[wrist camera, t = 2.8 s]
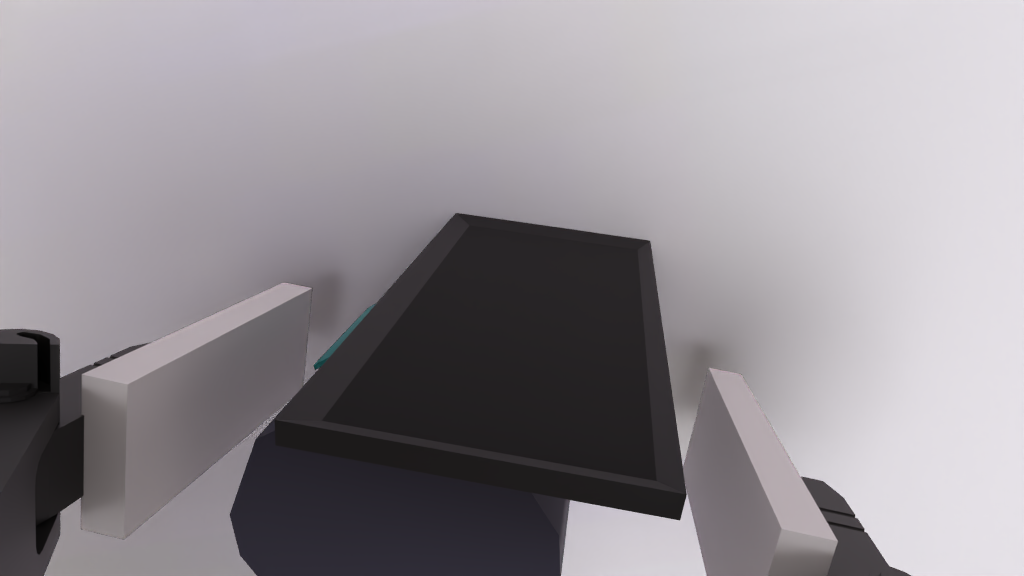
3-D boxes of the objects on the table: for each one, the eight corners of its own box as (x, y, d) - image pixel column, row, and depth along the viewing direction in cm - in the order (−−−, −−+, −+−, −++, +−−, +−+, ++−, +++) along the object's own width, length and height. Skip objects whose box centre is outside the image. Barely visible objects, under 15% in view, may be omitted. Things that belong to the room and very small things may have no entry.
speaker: (462, 140, 17) (281, 249, 8) (655, 242, 18) (716, 476, 8) (358, 365, 20) (125, 658, 10) (526, 452, 20) (452, 818, 11)
